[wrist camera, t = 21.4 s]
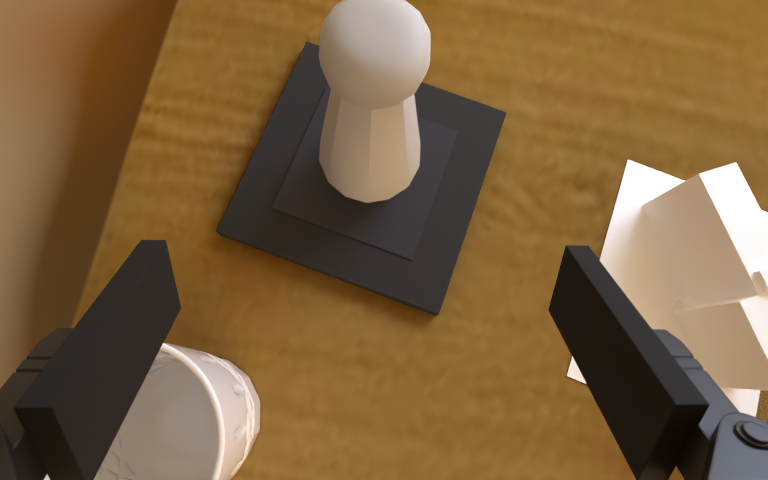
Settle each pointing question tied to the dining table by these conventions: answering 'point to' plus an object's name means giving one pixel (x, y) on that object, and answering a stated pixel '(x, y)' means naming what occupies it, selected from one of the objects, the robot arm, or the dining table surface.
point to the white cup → (186, 421)
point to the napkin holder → (696, 270)
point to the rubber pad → (356, 218)
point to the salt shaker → (372, 96)
